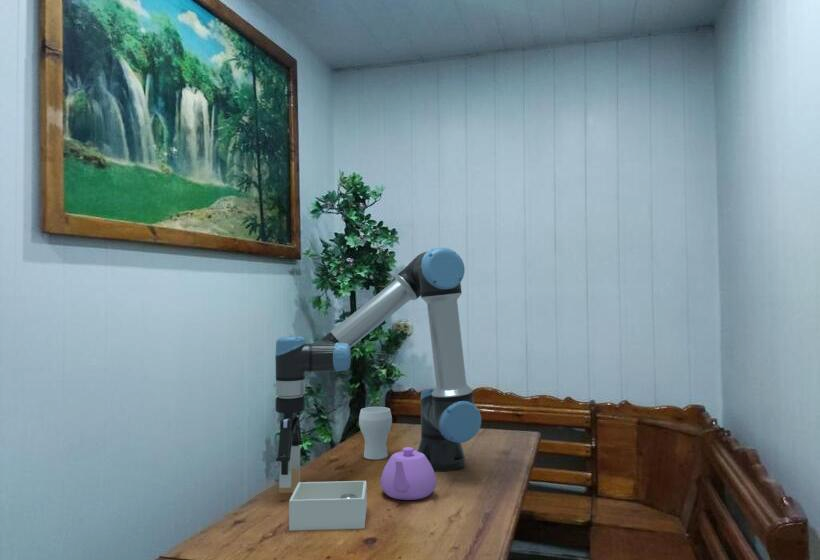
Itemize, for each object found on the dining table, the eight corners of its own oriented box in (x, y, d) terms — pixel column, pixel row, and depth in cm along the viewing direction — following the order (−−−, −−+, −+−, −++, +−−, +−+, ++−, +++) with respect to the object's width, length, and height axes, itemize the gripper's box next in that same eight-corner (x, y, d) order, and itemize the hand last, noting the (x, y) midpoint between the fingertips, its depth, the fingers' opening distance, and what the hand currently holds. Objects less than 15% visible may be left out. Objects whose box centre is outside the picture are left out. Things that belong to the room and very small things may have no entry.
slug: (356, 511, 124) (356, 493, 125) (355, 517, 121) (355, 499, 121) (341, 511, 124) (341, 494, 124) (339, 517, 121) (339, 499, 121)
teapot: (426, 515, 124) (425, 461, 124) (368, 510, 127) (367, 458, 128) (442, 486, 143) (442, 440, 143) (392, 483, 146) (391, 438, 147)
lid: (366, 484, 146) (366, 462, 146) (364, 501, 133) (364, 476, 134) (284, 486, 145) (284, 463, 145) (274, 503, 132) (275, 478, 133)
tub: (366, 510, 127) (366, 480, 127) (364, 532, 115) (364, 498, 115) (298, 512, 126) (298, 482, 126) (289, 534, 114) (289, 500, 114)
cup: (387, 461, 166) (387, 413, 167) (355, 460, 168) (354, 412, 169) (395, 452, 177) (395, 406, 177) (364, 451, 179) (364, 405, 180)
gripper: (285, 388, 152) (285, 464, 151) (264, 404, 127) (264, 495, 126) (311, 388, 153) (311, 463, 152) (296, 404, 128) (296, 494, 127)
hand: (290, 478), depth 139 cm, fingers open, 13 cm apart
